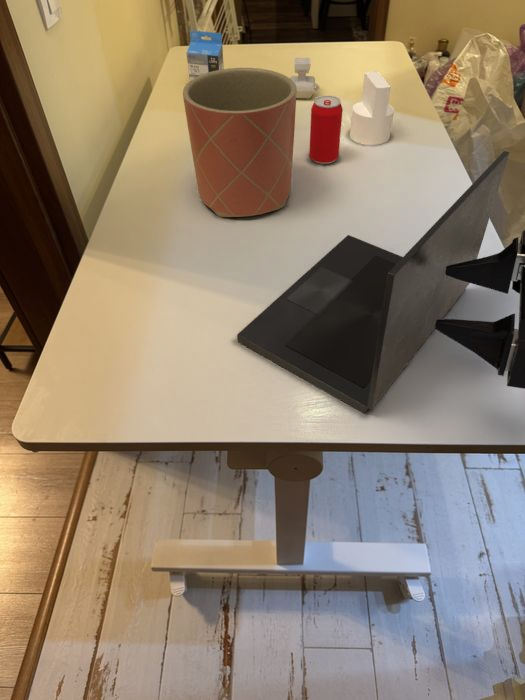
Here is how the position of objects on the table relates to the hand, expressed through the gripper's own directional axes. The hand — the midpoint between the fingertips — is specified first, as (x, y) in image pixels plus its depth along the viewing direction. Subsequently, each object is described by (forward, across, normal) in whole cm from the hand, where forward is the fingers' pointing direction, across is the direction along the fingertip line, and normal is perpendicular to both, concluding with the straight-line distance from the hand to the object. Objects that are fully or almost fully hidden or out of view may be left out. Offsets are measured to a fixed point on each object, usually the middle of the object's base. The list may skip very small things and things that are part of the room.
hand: (440, 295), depth 56 cm
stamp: (+43, -87, +10) cm, 98 cm away
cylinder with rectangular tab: (+22, -70, +14) cm, 75 cm away
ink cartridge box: (+69, -86, +7) cm, 111 cm away
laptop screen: (+1, -9, +4) cm, 10 cm away
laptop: (+13, -12, +15) cm, 23 cm away
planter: (+40, -38, +11) cm, 56 cm away
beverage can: (+30, -57, +12) cm, 65 cm away
